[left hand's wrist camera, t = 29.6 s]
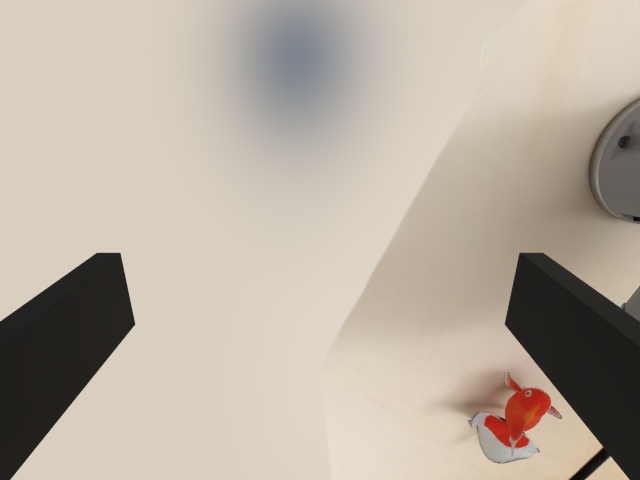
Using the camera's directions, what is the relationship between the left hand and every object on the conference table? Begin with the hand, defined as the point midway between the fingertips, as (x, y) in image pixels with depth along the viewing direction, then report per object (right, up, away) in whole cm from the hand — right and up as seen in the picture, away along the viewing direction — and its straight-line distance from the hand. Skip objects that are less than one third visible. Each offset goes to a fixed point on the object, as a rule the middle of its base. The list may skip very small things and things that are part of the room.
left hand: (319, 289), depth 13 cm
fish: (+27, -23, +45) cm, 57 cm away
